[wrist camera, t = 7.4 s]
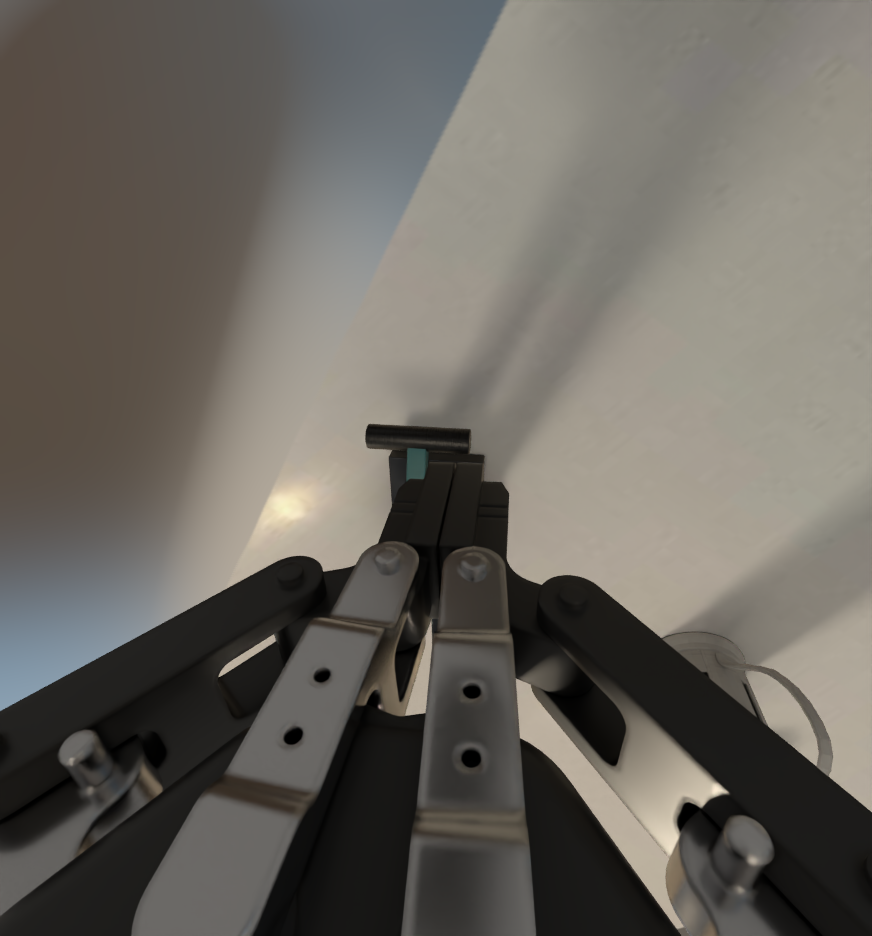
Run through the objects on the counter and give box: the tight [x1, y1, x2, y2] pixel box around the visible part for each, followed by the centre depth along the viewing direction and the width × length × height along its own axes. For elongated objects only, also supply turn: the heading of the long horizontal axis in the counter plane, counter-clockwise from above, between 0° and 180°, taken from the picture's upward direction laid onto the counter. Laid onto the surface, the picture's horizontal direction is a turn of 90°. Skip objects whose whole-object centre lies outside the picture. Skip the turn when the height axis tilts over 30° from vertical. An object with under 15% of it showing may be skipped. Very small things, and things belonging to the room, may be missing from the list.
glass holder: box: [663, 632, 833, 776], centre depth 37 cm, size 9×14×15 cm, turn 169°
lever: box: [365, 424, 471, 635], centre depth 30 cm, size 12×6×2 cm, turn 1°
